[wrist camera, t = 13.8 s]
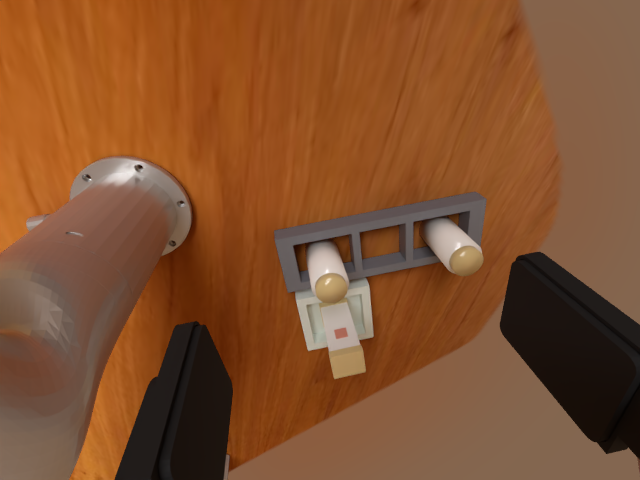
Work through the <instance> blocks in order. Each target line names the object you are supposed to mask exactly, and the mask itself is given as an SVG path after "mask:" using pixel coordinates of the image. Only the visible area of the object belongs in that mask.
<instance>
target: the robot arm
mask: <svg viewBox="0 0 640 480" xmlns="http://www.w3.org/2000/svg"><path fill="white" fill-rule="evenodd" d="M139 165H141V166H142V167H143V168H141V167H140V166H139ZM89 175H90V176H89ZM181 201H183V202H184V203H182V202H181ZM192 217H193V215H192V206H191V203H190V200H189V197H188V195H187V194H186V192H185V190H184V188H183V187H182V186H181V185H180V183H179V182H178V181H177V180H176V179H175V178H174V177H173V176H172V175H171V174H170V173H168V172H167V171H166V170H164V169H163V168H161V167H159V166H158V165H156V164H154V163H151V162H149V161H147V160H143V159H140V158H136V157H129V156H113V157H107V158H104V159H100V160H98V161H96V162H94V163H92V164H90V165H89V166H87V167H86V168H85V169H83V170H82V171H81V172H80V173H79V174H78V176H77V177H76V178H75V180H74V182H73V184H72V186H71V191H70V201H69V202H67V203H66V204H65V205H64V206H62V207H61V208H60V209H58V210H57V211H56V212H54V213H53V214H45V215H40V216H34V217H30V218H29V219H27V222H26V224H27V228H28V230H29V232H28V233H27V234H25V235H24V236H23V237H21V238H20V239H19V240H17V241H16V242H15V243H13V244H12V245H11V246H10V247H8V248H7V249H6V250H4V251H3V252H1V253H0V480H69V478H70V476H71V474H72V472H73V470H74V467H75V465H76V463H77V460H78V458H79V455H80V453H81V450H82V448H83V445H84V442H85V438H86V435H87V431H88V428H89V424H90V421H91V416H92V412H93V408H94V404H95V400H96V396H97V391H98V388H99V384H100V381H101V378H102V375H103V372H104V369H105V367H106V364H107V362H108V359H109V357H110V355H111V352H112V350H113V348H114V346H115V344H116V342H117V340H118V338H119V336H120V334H121V331H122V330H123V328H124V326H125V324H126V322H127V320H128V318H129V316H130V314H131V312H132V311H133V309H134V307H135V305H136V303H137V301H138V299H139V297H140V295H141V293H142V291H143V289H144V288H145V286H146V284H147V282H148V280H149V278H150V276H151V274H152V272H153V270H154V268H155V266H156V265H157V263H158V261H159V259H160V257H161V256H163V255H166V254H168V253H170V252H172V251H174V250H175V249H176V248H177V247H179V246H180V245H181V244H182V242H183V241H184V240H185V239H186V237H187V235H188V233H189V230H190V228H191V225H192ZM500 329H501V332H502V334H503V335H504V337H505V338H506V339H507V341H508V342H509V343H510V344H511V345H512V347H514V349H515V350H516V351H517V353H518V354H519V355H520V356H521V358H522V359H523V360H524V361H525V362H526V364H527V365H528V366H529V367H530V369H531V370H532V371H533V372H534V373H535V375H536V376H537V377H538V378H539V379H540V381H541V382H542V383H543V384H544V386H545V387H546V388H547V389H548V390H549V392H550V393H551V394H552V395H553V397H554V398H555V399H556V400H557V401H558V403H559V404H560V405H561V406H562V407H563V409H564V410H565V411H566V412H567V414H568V415H569V416H570V417H571V418H572V420H573V421H574V422H575V423H576V424H577V426H578V427H579V428H580V429H581V431H582V432H583V433H584V434H585V435H586V436H587V437H588V438H589V439H590V440H591V441H593V442H597V443H598V444H599V446H600V447H601V448H602V449H603V450H604V452H605V453H606V454H608V453H613V452H616V451H621V450H625V449H627V448H628V447H629V448H630V450H631V451H632V452H633V453H634V454H635V455H636V456H637V458H638V465H639V472H640V325H639V324H638V323H637V322H635V321H634V320H632V319H631V318H630V317H628V316H627V315H625V314H624V313H623V312H621V311H620V310H619V309H618V308H616V307H615V306H614V305H612V304H611V303H609V302H608V301H607V300H605V299H604V298H603V297H601V296H600V295H599V294H597V293H596V292H595V291H593V290H592V289H591V288H589V287H588V286H586V285H585V284H584V283H583V282H581V281H580V280H578V279H577V278H576V277H574V276H573V275H572V274H570V273H569V272H568V271H566V270H565V269H564V268H562V267H561V266H559V265H558V264H557V263H556V262H554V261H552V259H550V258H549V257H547V256H546V255H545V254H543V253H541V252H535V253H530V254H525V255H520V256H518V257H517V258H516V261H515V262H513V263H512V265H511V270H510V275H509V280H508V285H507V290H506V296H505V301H504V306H503V311H502V316H501V321H500ZM232 395H233V388H232V382H231V380H230V378H229V375H228V373H227V371H226V369H225V367H224V364H223V362H222V360H221V358H220V356H219V353H218V351H217V349H216V347H215V345H214V342H213V340H212V338H211V336H210V334H209V331H208V329H207V327H206V326H205V325H200V324H199V323H198V322H197V321H195V322H190V323H185V324H180V325H176V326H175V328H174V330H173V333H172V336H171V339H170V342H169V345H168V348H167V351H166V354H165V357H164V360H163V363H162V366H161V368H160V371H159V374H158V377H155V378H153V379H152V380H151V381H150V383H149V385H148V388H147V390H146V393H145V396H144V399H143V402H142V404H141V407H140V410H139V413H138V416H137V418H136V421H135V424H134V427H133V430H132V432H131V435H130V438H129V441H128V443H127V446H126V449H125V452H124V455H123V457H122V460H121V463H120V466H119V469H118V471H117V474H116V477H115V480H224V472H225V462H226V453H227V443H228V434H229V424H230V415H231V405H232Z"/></svg>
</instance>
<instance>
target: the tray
mask: <svg viewBox="0 0 640 480" xmlns="http://www.w3.org/2000/svg"><path fill="white" fill-rule="evenodd" d="M295 296H296V303H297V307H298V311H299V315H300V319H301V323H302V327H303V332H304V336H305V340H306V344H307V348H308V351H310V350H315V349H319V348H324V347H328V343H327V338H326V333H325V328H324V325H323V321H322V316H321V311H320V307H319V303H323V302H322V301H320V300H319V299H318V298H317V297H316V296H315V295H314V294H313V292H312V289H311V288H309V289H304V290H299V291H295ZM344 298H347V301H348V307H349V310H350V313H351V316H352V320H353V323H354V326H355V329H356V332H357V336H358V339H359V340H362V339H367V338H372V337H374V335H373V323H372V311H371V299H370V288H369V284H368V281H367V279H366V277H363V278H358V279H353V280H349V287H348V290H347V294H346V295H345V297H344Z"/></svg>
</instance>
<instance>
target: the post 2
mask: <svg viewBox="0 0 640 480" xmlns="http://www.w3.org/2000/svg"><path fill="white" fill-rule="evenodd" d="M419 234H420V236H421V237H422V238H423V240H424V241H425V242H426V243H427V245H428V246H429V247H430V248H431V249H432V251H433V252H434V253H435V254H436V256H437V257H438V258H439V259H440V260H441V262H442V263H443V264H444V265H445V267H446V268H447V269H448V270H449V271H450V272H452V273H454V274H457V275H459V276H468V275H471V274H473V273H475V272H476V271H477V270H478V269H479V268H480V267H481V266H482V264H483V255H482V250H481V248H480V246H479V245H478V244H476V243H475V242H474V241H473V240H472V239H471V238H470V237H469V236H468V235H467V234H466V233H465V232H464V231H463V230H461V229H460V228H459V227H458V226H457V225H456V224H455V223H454V222H453V221H452V220H451V219H450V218H449V217H448V216H446V215H445V216H440V217H435V218H430V219H425V220H423V221H422V222H421V224H420V226H419Z"/></svg>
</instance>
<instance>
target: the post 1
mask: <svg viewBox="0 0 640 480" xmlns="http://www.w3.org/2000/svg"><path fill="white" fill-rule="evenodd" d="M305 255H306V261H307V266H308V272H309V277H310V283H311V289H312V292H313V294H314V295H315V296H316V297H317V298H318V299H319V300H320V301H322V302H324V303H336V302H338V301H340V300H342V299H343V298H344V297H345V295H346V294H347V290H348V287H349V279H348V277H347V274H346V271H345V268H344V265H343V262H342V259H341V257H340V254H339V251H338V248H337V245H336V243H335V241H334V240H333V239H332V238H328V239H322V240H317V241H312V242H307V244H306V246H305Z"/></svg>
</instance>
